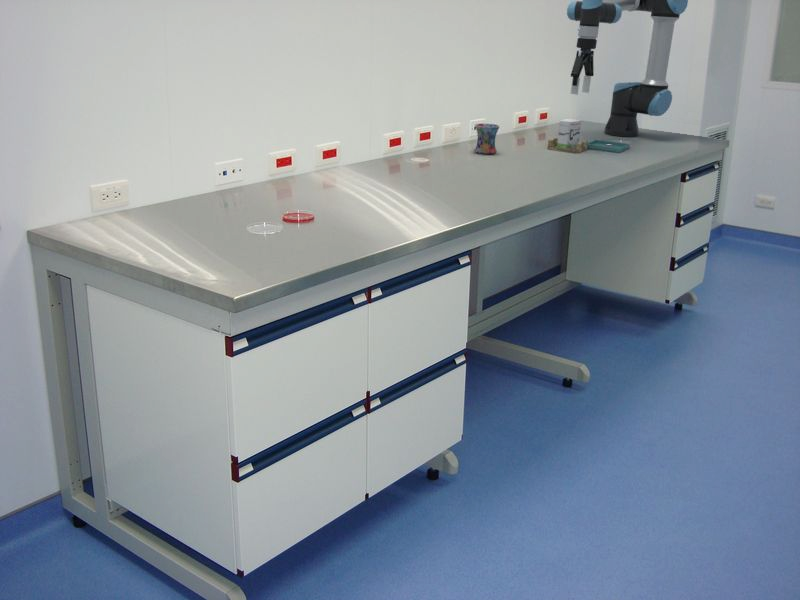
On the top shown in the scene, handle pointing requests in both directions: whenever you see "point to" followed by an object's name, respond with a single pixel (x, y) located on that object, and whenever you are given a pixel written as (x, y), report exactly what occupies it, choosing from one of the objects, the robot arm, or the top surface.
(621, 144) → the tray
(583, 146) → the frame
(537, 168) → the top surface
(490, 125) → the mug
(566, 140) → the ink box
